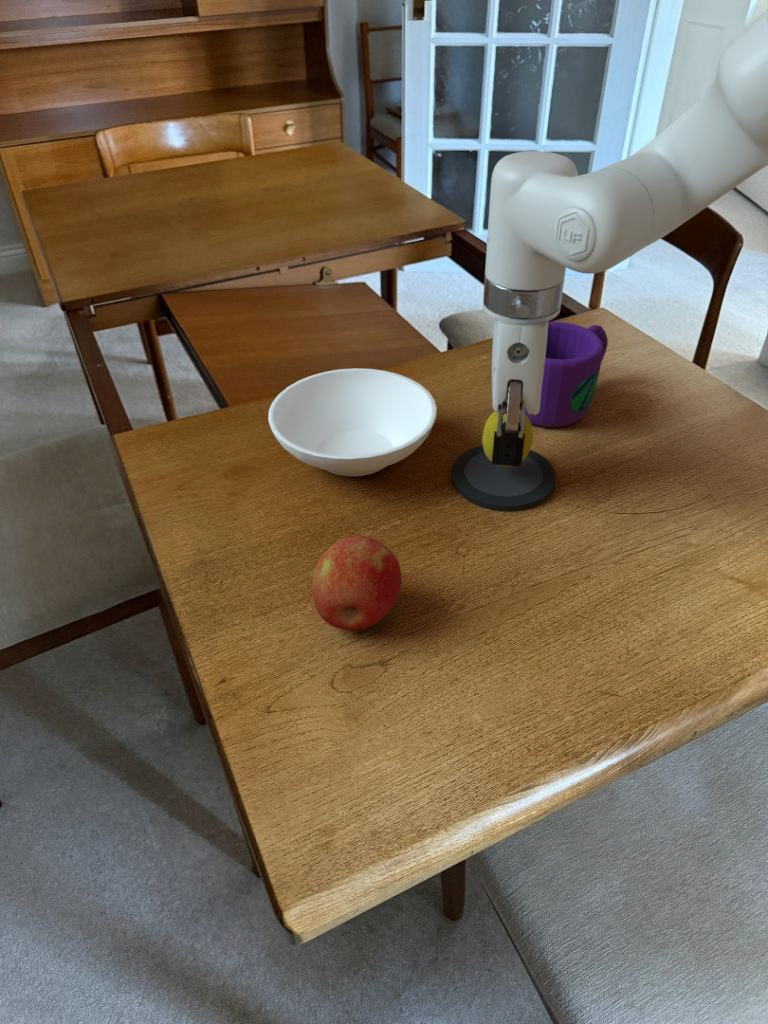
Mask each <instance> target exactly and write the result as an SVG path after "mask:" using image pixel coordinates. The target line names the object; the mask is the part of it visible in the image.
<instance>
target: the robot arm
mask: <svg viewBox="0 0 768 1024" xmlns="http://www.w3.org/2000/svg"><path fill="white" fill-rule="evenodd" d="M767 166H768V8H767V9H766V10H765V11H763V13H762V14H761V15H759V16H758V17H756V19H755V20H753V21H752V22H751V23H750V24H749V25H748V26H746V27H745V28H744V29H743V30H741V32H739V33H738V34H737V35H736V36H735V37H734V38H733V39H731V41H730V42H729V43H728V44H727V45H726V46H725V48H724V49H723V51H722V52H721V53H720V56H719V58H718V61H717V67H716V74H715V76H714V78H713V81H712V82H711V84H710V85H709V86H708V88H707V89H706V90H705V91H704V93H702V95H701V96H700V97H699V98H698V99H697V100H696V101H695V102H694V103H693V104H692V105H691V106H690V107H689V108H688V109H687V110H686V111H685V112H683V113H682V114H681V115H680V116H679V117H677V118H676V119H675V120H674V121H672V123H671V124H669V125H668V126H667V127H666V128H664V129H663V130H662V131H661V132H660V133H658V134H657V135H656V136H655V137H653V139H652V140H650V141H649V142H648V143H646V144H645V145H644V146H643V147H641V148H640V149H638V150H637V151H636V152H635V153H633V154H632V155H630V156H628V157H627V158H624V159H621V160H619V161H617V162H613V163H612V164H609V165H608V166H605V167H603V168H600V169H598V170H596V171H592V172H587V173H584V174H580V175H579V173H578V168H577V166H576V164H575V162H573V161H572V160H571V159H570V158H569V157H567V156H565V155H562V154H559V153H555V152H550V151H544V150H543V151H541V150H530V151H529V150H528V151H527V150H526V151H520V152H519V151H518V152H514V153H511V154H507V155H505V156H503V157H502V158H500V159H499V160H498V162H496V164H495V165H494V168H493V170H492V173H491V181H490V192H489V207H488V208H489V210H488V220H487V221H488V223H487V226H488V227H487V236H486V237H487V239H486V250H485V251H486V253H485V254H486V255H485V269H484V285H483V296H482V298H483V299H482V310H483V312H484V313H485V314H486V315H487V316H488V317H490V318H492V319H493V332H492V346H491V347H492V349H491V350H492V351H491V392H492V393H491V399H492V401H491V402H492V410H493V412H495V411H496V412H497V413H498V424H497V431H494V442H493V454H492V463H493V464H494V465H507V466H520V465H521V464H522V456H523V447H524V439H525V433H523V431H524V421H525V413H526V410H527V413H528V414H533V415H536V414H538V413H539V412H540V402H541V392H542V383H543V374H544V366H545V357H546V347H547V336H548V322H550V321H552V320H554V319H555V318H557V317H558V315H559V314H560V312H561V308H562V307H561V306H562V299H563V291H564V284H565V277H566V271H567V269H569V270H571V271H573V272H577V273H580V274H585V275H586V274H589V275H590V274H592V275H593V274H598V273H602V272H603V273H604V272H606V271H607V270H610V269H612V268H613V267H615V266H618V265H619V264H621V263H622V262H624V261H626V260H627V259H629V258H630V257H632V256H634V255H636V254H637V253H638V252H639V251H642V250H643V249H645V248H646V247H648V246H650V245H652V244H654V243H656V242H657V241H659V240H661V239H662V238H664V237H665V236H667V235H669V234H670V233H672V232H673V231H674V230H676V229H677V228H679V227H681V226H682V225H683V224H684V223H686V222H687V221H689V220H691V219H692V218H693V217H695V216H696V215H697V214H699V213H701V211H703V210H705V209H706V208H708V207H709V206H710V205H712V204H713V203H715V202H716V201H718V200H719V199H720V198H722V197H723V196H726V195H727V194H728V193H729V192H731V191H733V189H735V188H736V187H738V186H739V185H741V184H742V183H744V182H745V181H746V180H748V179H750V178H751V177H752V176H753V175H755V174H756V173H758V172H759V171H761V170H762V169H764V168H765V167H767ZM566 268H567V269H566ZM503 414H507V415H506V422H503ZM519 415H520V416H519ZM518 422H519V423H518Z"/></svg>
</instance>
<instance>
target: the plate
mask: <svg viewBox="0 0 768 1024" xmlns="http://www.w3.org/2000/svg"><path fill="white" fill-rule="evenodd" d="M451 482H452V485H453V487H454V489H455V490H456V492H457V493H458V494H459V495H460V496H461V497H462V498H464V499H465V500H467V501H468V502H470V503H472V504H474V505H476V506H479V507H482V508H484V509H488V510H492V511H500V512H501V511H502V512H517V511H524V510H528V509H531V508H534V507H537V506H539V505H542V504H543V503H544V502H546V501H547V500H548V499H549V498H550V497H551V496H552V494H553V493H554V491H555V488H556V483H557V474H556V470H555V468H554V466H553V465H552V464H551V462H550V461H548V460H547V458H545V457H544V456H543V455H542V454H540V453H538V452H536V451H534V450H532V449H530V451H529V453H528V455H527V457H526V458H525V459H524V460H523V461H522V464H521V465H520V466H512V467H506V468H503V467H501V466H498V465H494V464H493V463H492V462H491V461H490V460H489V459H488V457H487V456H486V454H485V452H484V449H483V445H479V446H476V447H473V448H470V449H468V450H467V451H464V452H463V453H461V454H460V455H459V456H458V457H457V458H456V460H455V461H454V463H453V465H452V467H451Z"/></svg>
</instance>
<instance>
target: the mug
mask: <svg viewBox="0 0 768 1024" xmlns="http://www.w3.org/2000/svg"><path fill="white" fill-rule="evenodd" d="M608 343H609V342H608V335H607V332H606V331H605V329H604V328H603V327H602V325H597V324H591V325H590V326H589V327H585V326H581V325H578V324H575V323H570V322H565V321H564V322H563V321H548V336H547V347H546V357H545V366H544V374H543V383H542V392H541V402H540V412H539V413H538V414H536V415H533V414H528V413H527V410H526V413H525V414H526V415H527V416H528V418H529V420H530V422H531V425H533V426H537V427H542V428H561V427H565V426H569V425H572V424H575V423H577V422H578V421H580V420H581V419H582V418H583V417H584V416H585V415H586V414H587V412H588V410H589V408H590V405H591V403H592V400H593V398H594V395H595V391H596V388H597V384H598V379H599V376H600V371H601V366H602V362H603V360H604V357H605V354H606V353H607V348H608Z"/></svg>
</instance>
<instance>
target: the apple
mask: <svg viewBox="0 0 768 1024" xmlns="http://www.w3.org/2000/svg"><path fill="white" fill-rule="evenodd" d="M401 570H402V569H401V565H400V563H399V560H398V557H396V555H395V554H394V552H393V551H392V550H391V549H390V548H388V546H386V545H384V543H382V542H380V541H379V540H377V539H375V538H372V537H369V536H365V535H354V536H348V537H345V538H342V539H340V540H338V541H336V542H335V543H333V544H332V545H330V546H329V548H327V549H326V550H325V552H324V553H322V555H321V557H320V558H319V559H318V561H317V563H316V565H315V568H314V571H313V574H312V581H311V595H312V601H313V605H314V608H315V610H316V612H317V614H318V615H319V616H320V618H321V619H322V620H323V621H324V622H326V624H328V625H330V626H332V627H334V628H336V629H340V630H343V631H357V630H363V629H367V628H369V627H371V626H373V625H375V624H377V623H379V622H380V621H381V620H383V619H384V618H385V617H386V616H387V615H388V614H390V612H391V610H392V609H393V607H394V606H395V604H396V602H397V600H398V597H399V594H400V591H401V588H402V587H401V586H402V571H401Z"/></svg>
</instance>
